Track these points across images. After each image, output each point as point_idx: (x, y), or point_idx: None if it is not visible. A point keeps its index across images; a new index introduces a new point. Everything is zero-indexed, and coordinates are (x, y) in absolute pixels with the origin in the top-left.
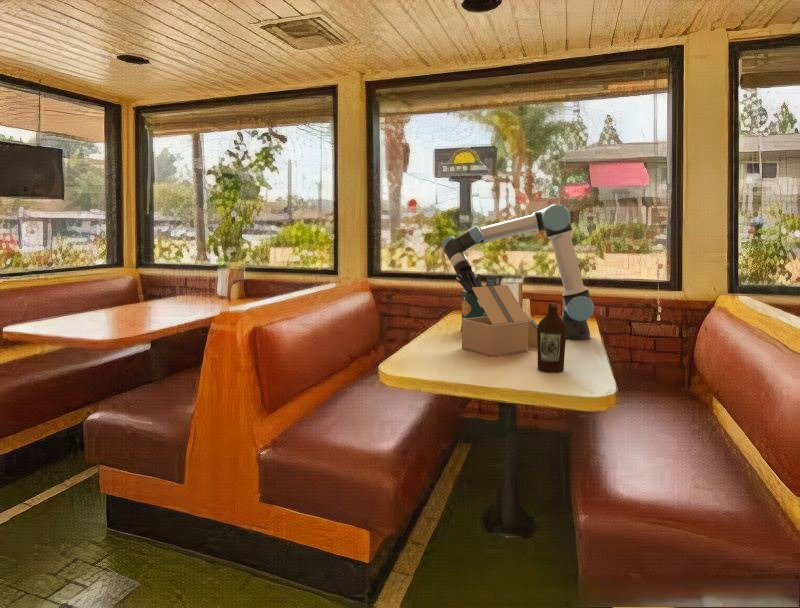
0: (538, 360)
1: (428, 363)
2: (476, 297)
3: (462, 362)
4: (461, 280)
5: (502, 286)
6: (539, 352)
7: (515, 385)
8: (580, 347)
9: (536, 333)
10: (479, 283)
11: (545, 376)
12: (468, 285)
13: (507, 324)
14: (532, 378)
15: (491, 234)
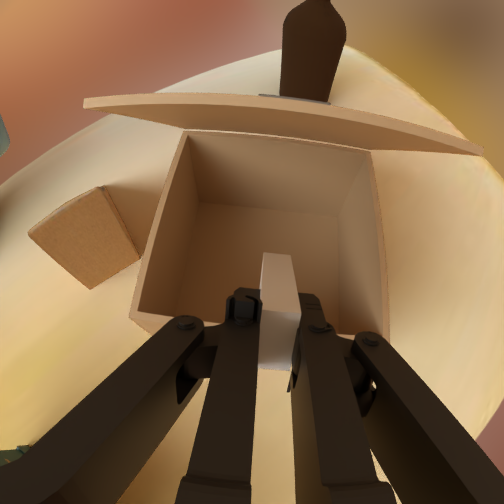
0: (329, 90)
1: (493, 263)
2: (319, 305)
3: (432, 224)
4: (487, 481)
5: (148, 96)
6: (334, 75)
7: (410, 98)
8: (63, 165)
9: (108, 198)
10: (146, 391)
11: (342, 89)
12: (402, 390)
13: (294, 141)
14: (368, 95)
15: None
